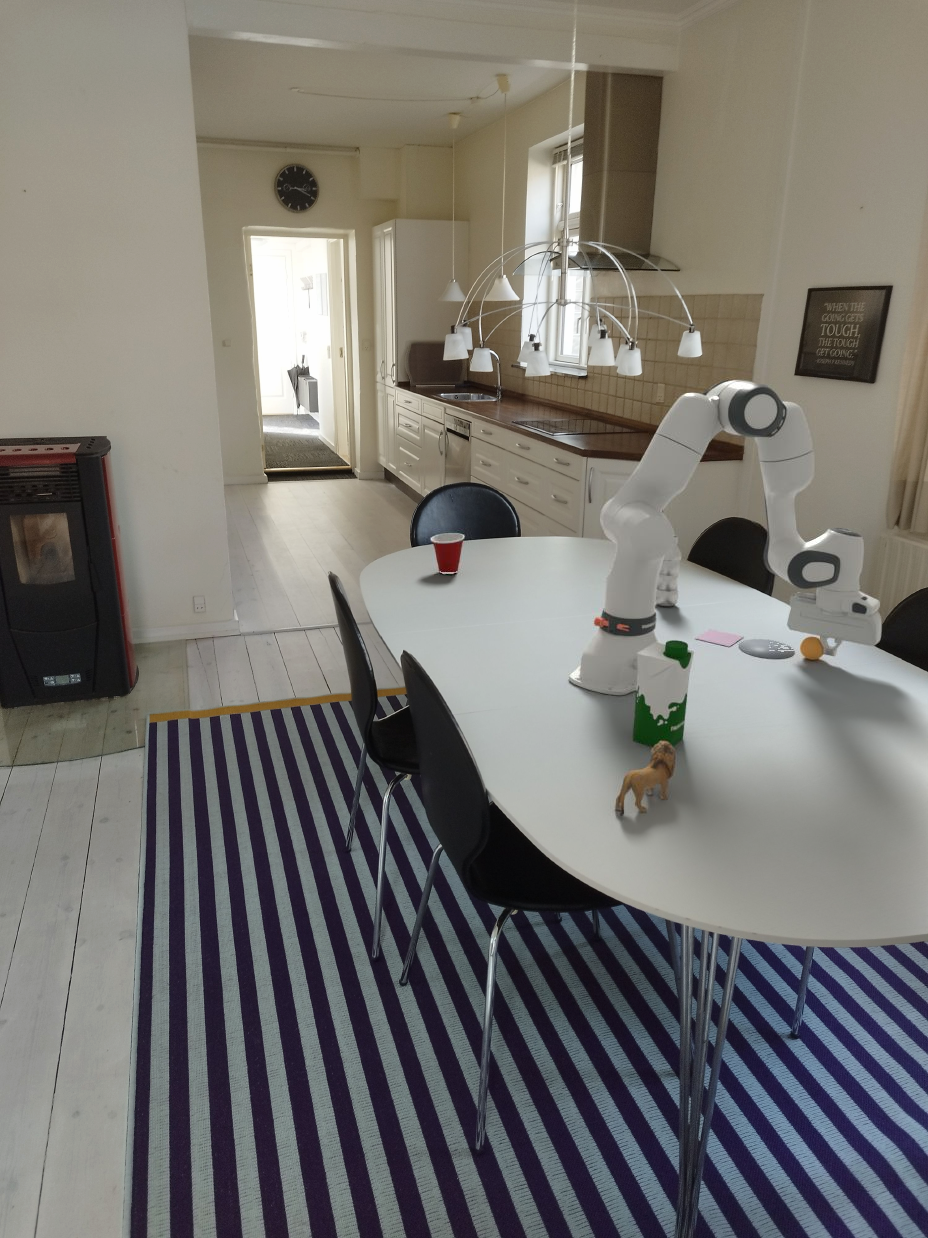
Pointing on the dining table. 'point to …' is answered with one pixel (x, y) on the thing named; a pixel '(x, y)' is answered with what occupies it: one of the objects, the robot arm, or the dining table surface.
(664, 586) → the plastic bottle
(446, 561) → the plastic cup
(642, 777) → the lion figurine
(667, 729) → the milk carton
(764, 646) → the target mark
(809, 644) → the ball
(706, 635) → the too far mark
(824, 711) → the dining table surface
